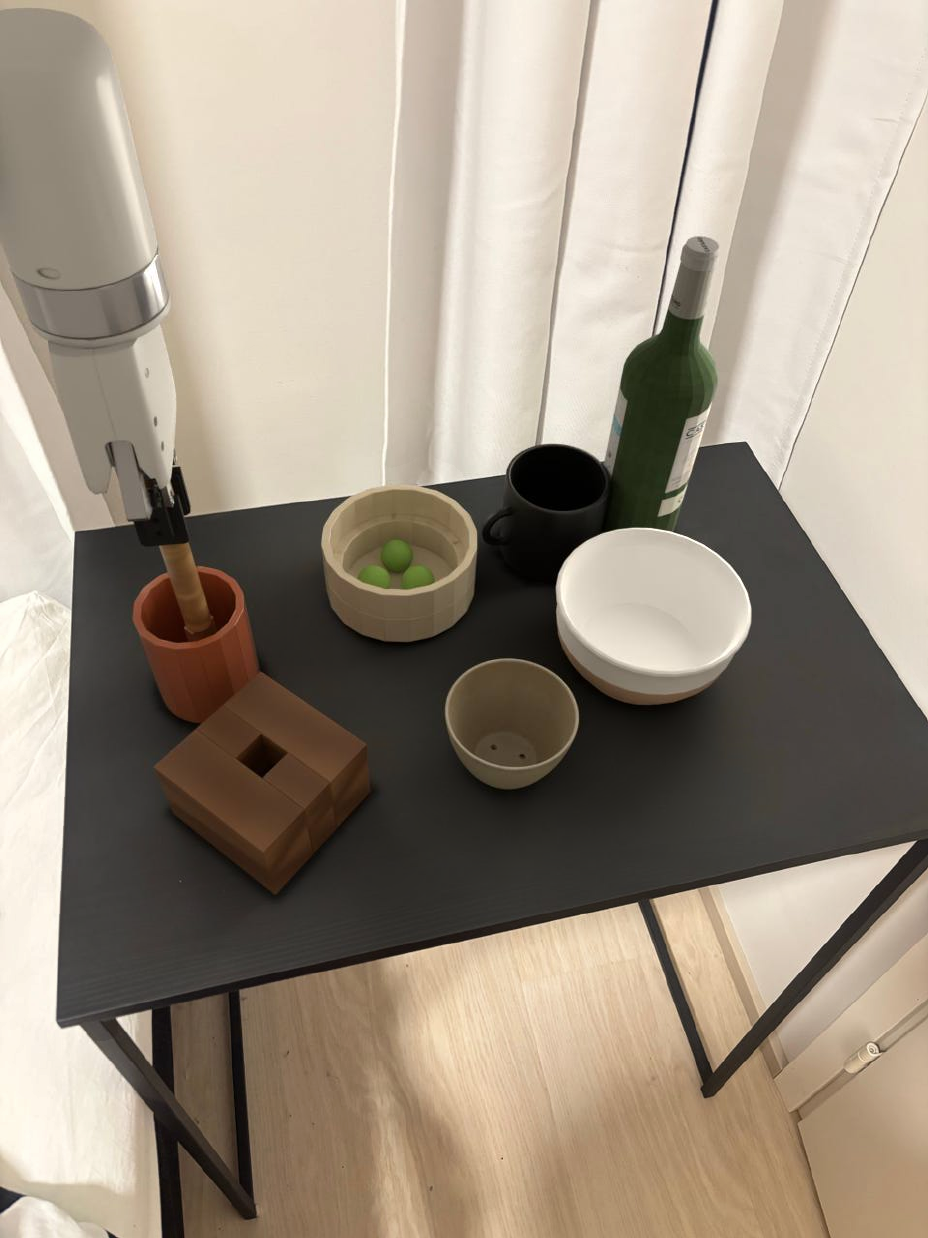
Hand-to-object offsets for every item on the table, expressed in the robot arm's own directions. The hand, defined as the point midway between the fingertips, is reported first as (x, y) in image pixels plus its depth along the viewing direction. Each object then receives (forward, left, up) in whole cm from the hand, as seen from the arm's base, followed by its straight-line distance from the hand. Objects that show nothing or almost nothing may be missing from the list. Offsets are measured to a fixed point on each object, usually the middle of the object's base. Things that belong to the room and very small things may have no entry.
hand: (166, 526), depth 64 cm
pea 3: (+18, -8, -16) cm, 26 cm away
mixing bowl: (+18, -6, -18) cm, 26 cm away
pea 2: (+19, -4, -16) cm, 26 cm away
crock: (0, 0, -18) cm, 18 cm away
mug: (+30, -13, -19) cm, 37 cm away
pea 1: (+16, -5, -16) cm, 23 cm away
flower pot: (+9, -24, -19) cm, 32 cm away
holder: (-5, -12, -18) cm, 23 cm away
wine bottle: (+38, -19, -19) cm, 46 cm away
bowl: (+25, -27, -19) cm, 41 cm away
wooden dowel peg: (0, 0, -15) cm, 15 cm away
